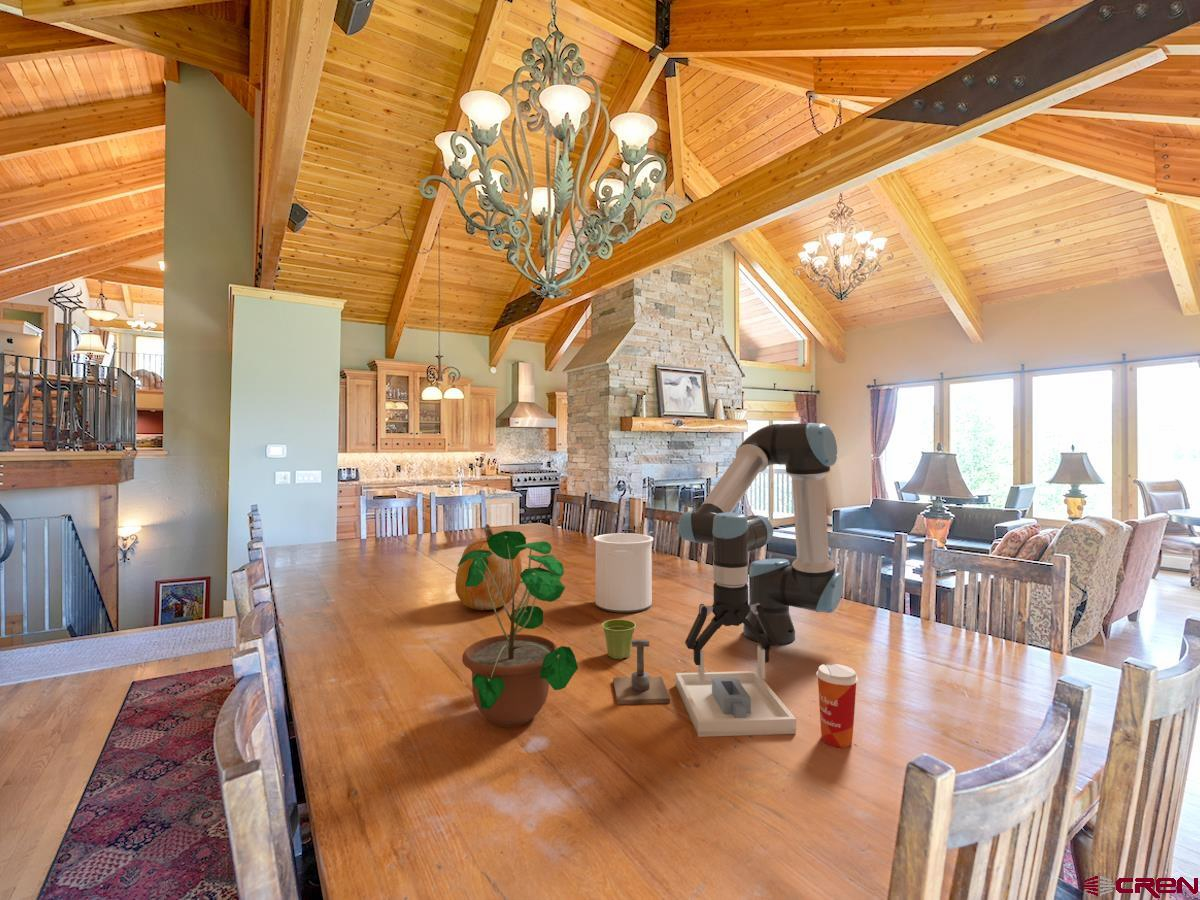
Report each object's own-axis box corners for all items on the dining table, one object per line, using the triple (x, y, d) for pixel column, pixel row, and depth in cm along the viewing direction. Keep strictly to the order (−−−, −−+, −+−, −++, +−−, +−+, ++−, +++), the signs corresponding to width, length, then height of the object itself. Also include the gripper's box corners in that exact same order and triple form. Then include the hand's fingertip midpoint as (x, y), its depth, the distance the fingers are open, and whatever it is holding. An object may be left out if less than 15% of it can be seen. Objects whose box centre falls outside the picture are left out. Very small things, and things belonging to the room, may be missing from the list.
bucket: (598, 594, 219) (598, 531, 219) (654, 596, 216) (654, 532, 216) (588, 614, 194) (588, 543, 193) (651, 617, 191) (651, 544, 190)
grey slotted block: (711, 693, 131) (711, 678, 131) (736, 692, 131) (736, 677, 131) (727, 720, 118) (727, 704, 118) (755, 719, 118) (755, 703, 118)
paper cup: (809, 731, 116) (809, 663, 115) (845, 729, 116) (845, 661, 116) (827, 752, 108) (827, 679, 108) (866, 750, 108) (866, 677, 108)
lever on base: (661, 680, 140) (661, 631, 140) (670, 702, 128) (670, 649, 128) (613, 681, 140) (613, 632, 139) (617, 704, 128) (617, 650, 127)
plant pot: (633, 663, 151) (633, 631, 151) (598, 660, 153) (598, 628, 153) (638, 650, 160) (638, 620, 160) (605, 648, 162) (605, 618, 162)
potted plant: (535, 767, 103) (534, 551, 102) (426, 725, 118) (425, 537, 117) (619, 701, 129) (619, 528, 128) (521, 674, 144) (521, 519, 144)
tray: (756, 683, 138) (756, 671, 138) (796, 733, 115) (796, 719, 114) (675, 685, 137) (675, 673, 137) (698, 736, 113) (698, 721, 113)
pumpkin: (515, 617, 191) (515, 529, 191) (449, 617, 191) (448, 528, 191) (527, 596, 217) (526, 518, 217) (468, 596, 217) (467, 518, 217)
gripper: (779, 577, 130) (779, 668, 131) (671, 580, 129) (672, 672, 129) (792, 585, 123) (792, 682, 123) (678, 589, 121) (679, 687, 122)
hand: (731, 677), depth 126 cm, fingers open, 13 cm apart
